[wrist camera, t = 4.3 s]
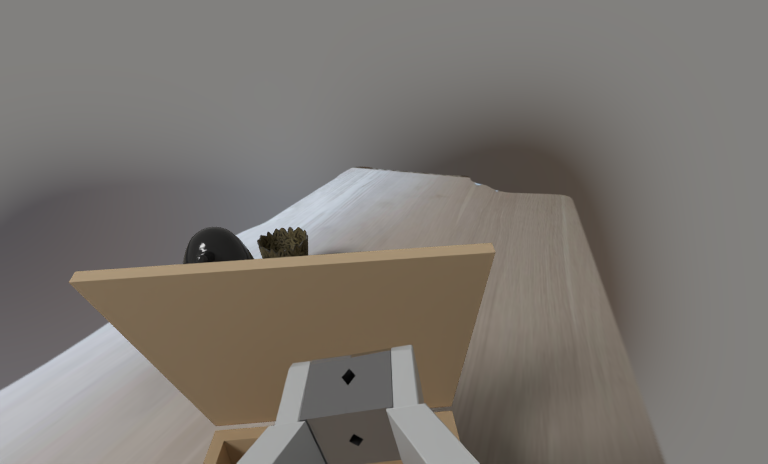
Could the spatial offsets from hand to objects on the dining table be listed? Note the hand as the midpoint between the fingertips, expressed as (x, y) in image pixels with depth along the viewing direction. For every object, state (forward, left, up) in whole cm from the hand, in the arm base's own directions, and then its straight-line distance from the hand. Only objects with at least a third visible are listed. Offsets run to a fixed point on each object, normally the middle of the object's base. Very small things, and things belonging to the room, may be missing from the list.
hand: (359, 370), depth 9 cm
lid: (+8, +3, -8) cm, 12 cm away
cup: (+45, +13, -26) cm, 53 cm away
